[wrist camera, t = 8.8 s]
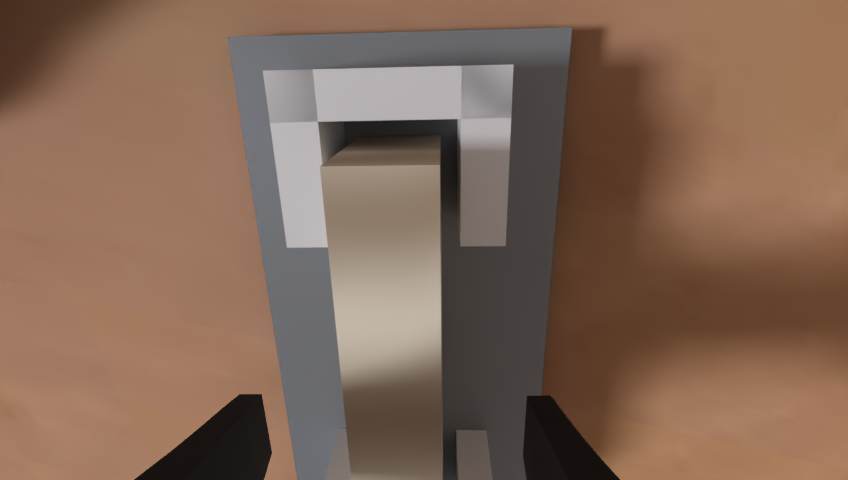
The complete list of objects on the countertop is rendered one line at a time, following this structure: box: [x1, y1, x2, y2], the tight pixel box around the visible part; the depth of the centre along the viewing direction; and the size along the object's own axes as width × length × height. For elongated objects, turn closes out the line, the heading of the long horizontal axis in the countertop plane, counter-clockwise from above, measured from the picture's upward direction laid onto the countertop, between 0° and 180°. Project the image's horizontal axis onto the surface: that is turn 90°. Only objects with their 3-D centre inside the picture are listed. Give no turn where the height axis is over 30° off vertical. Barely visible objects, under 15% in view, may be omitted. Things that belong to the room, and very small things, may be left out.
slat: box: [320, 135, 443, 480], centre depth 14 cm, size 14×2×5 cm, turn 1°
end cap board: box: [228, 27, 572, 480], centre depth 15 cm, size 20×10×4 cm, turn 1°
